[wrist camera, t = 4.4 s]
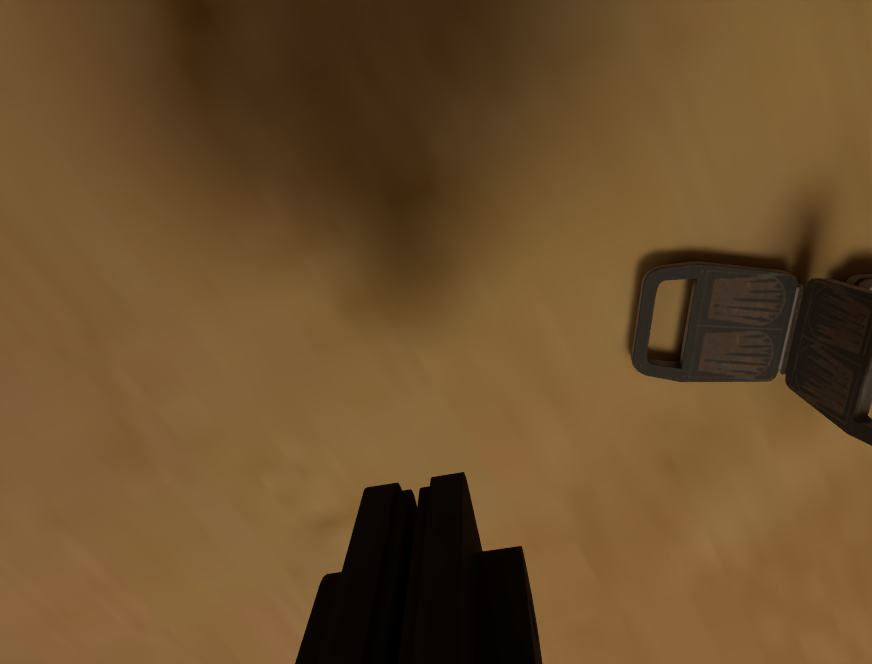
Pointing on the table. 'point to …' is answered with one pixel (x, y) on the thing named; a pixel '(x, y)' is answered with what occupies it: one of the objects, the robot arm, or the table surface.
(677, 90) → the table surface
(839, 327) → the strap clip
